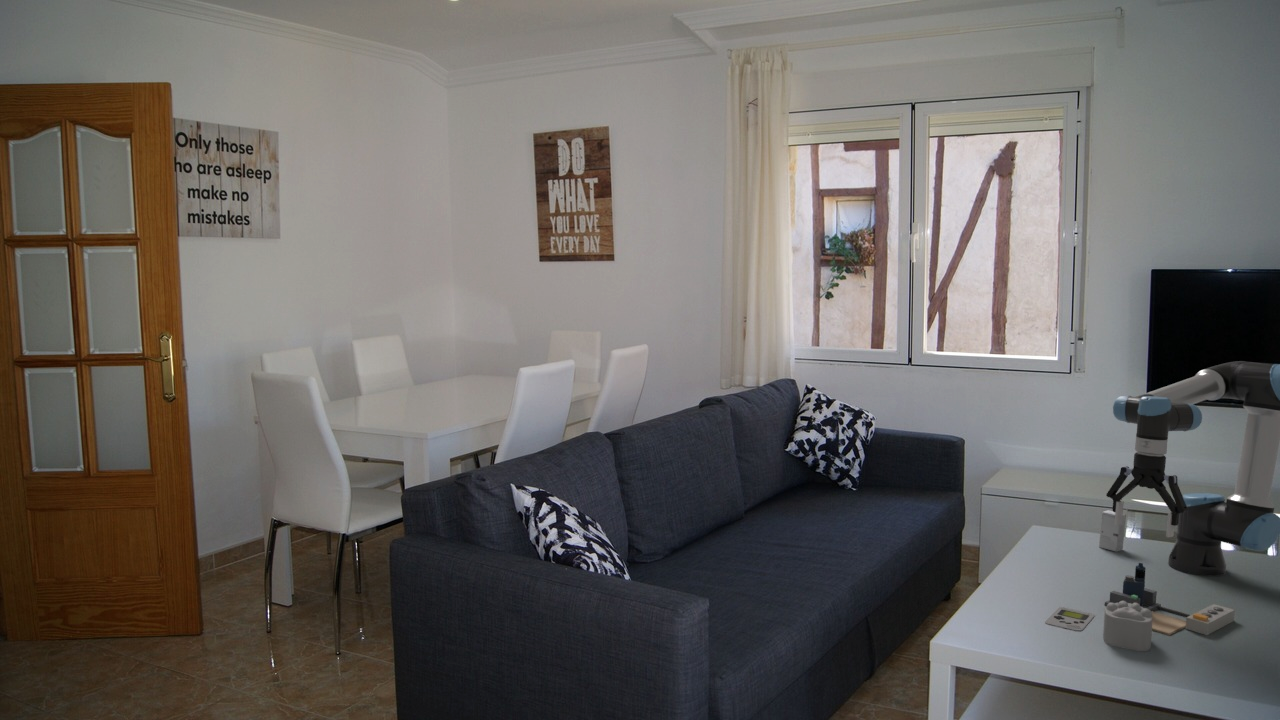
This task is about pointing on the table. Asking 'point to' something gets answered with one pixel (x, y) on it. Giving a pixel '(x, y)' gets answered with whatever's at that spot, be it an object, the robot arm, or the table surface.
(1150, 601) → the frame
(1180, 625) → the mat
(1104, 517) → the skincare box
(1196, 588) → the table surface
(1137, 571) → the vaping device
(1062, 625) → the handheld gaming device
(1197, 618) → the power strip
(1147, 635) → the lumpy-topped squat cylinder
